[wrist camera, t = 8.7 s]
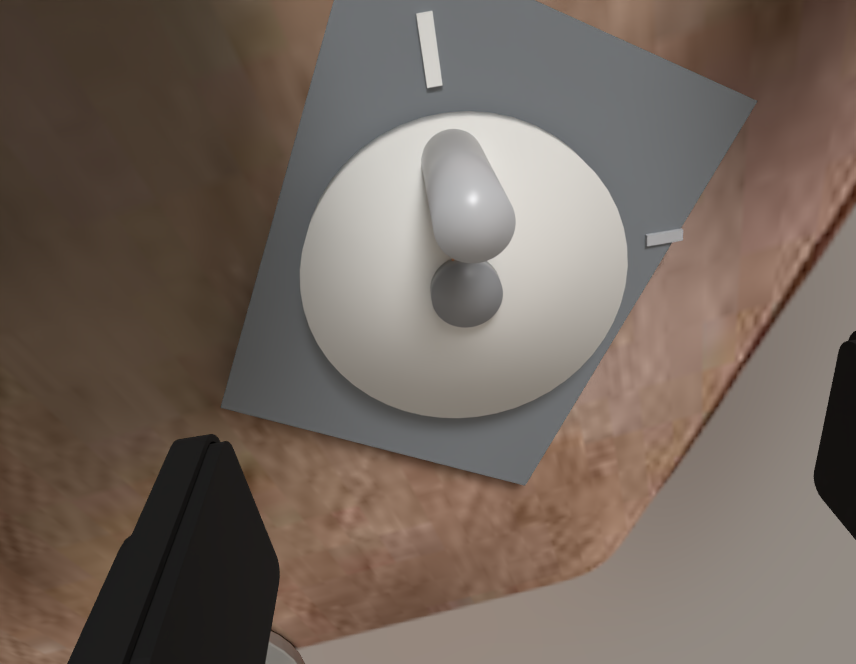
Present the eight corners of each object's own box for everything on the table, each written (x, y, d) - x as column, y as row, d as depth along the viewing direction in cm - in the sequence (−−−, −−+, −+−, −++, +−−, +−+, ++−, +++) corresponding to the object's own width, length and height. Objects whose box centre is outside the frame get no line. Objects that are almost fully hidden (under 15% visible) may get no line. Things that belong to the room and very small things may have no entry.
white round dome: (612, 380, 32) (679, 504, 25) (336, 416, 32) (322, 550, 25) (622, 88, 25) (721, 140, 18) (269, 136, 25) (220, 208, 18)
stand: (524, 468, 37) (530, 489, 36) (226, 390, 33) (219, 409, 32) (745, 97, 27) (765, 104, 26) (358, -78, 23) (356, -81, 22)
